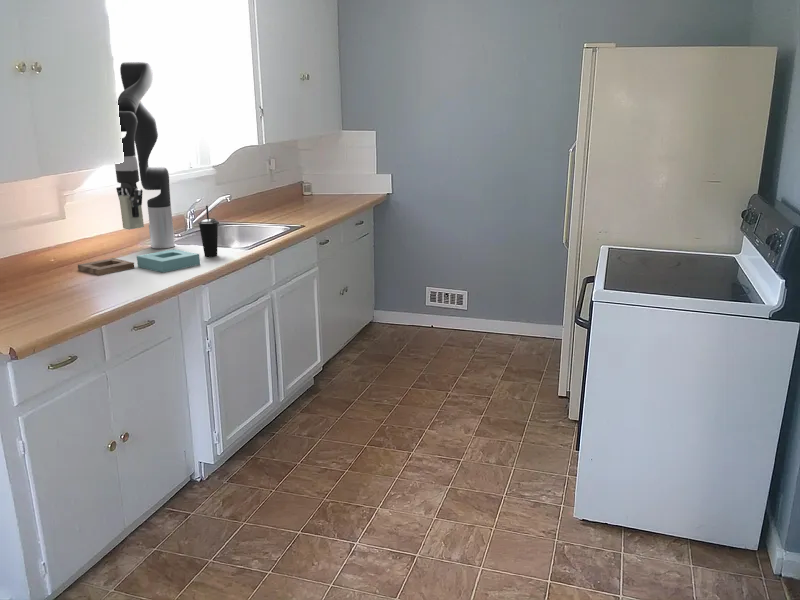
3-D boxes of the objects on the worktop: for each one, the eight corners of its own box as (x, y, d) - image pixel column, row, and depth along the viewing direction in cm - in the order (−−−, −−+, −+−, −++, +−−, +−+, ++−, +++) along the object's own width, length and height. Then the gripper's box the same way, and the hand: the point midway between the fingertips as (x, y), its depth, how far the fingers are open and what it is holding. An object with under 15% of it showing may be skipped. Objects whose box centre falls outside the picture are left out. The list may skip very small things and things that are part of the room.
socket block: (137, 266, 260) (136, 256, 259) (174, 259, 272) (173, 249, 271) (163, 272, 250) (162, 261, 249) (200, 264, 263) (199, 253, 262)
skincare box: (138, 226, 259) (134, 193, 256) (144, 227, 256) (140, 194, 253) (122, 228, 254) (118, 195, 251) (128, 230, 252) (124, 196, 248)
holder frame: (78, 270, 255) (77, 264, 255) (113, 263, 266) (113, 258, 266) (98, 275, 247) (98, 269, 247) (134, 268, 258) (133, 262, 257)
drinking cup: (201, 258, 273) (196, 207, 267) (201, 254, 280) (196, 204, 274) (221, 257, 274) (217, 206, 269) (220, 253, 282) (216, 203, 276)
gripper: (106, 168, 251) (112, 216, 256) (127, 170, 242) (133, 219, 247) (125, 167, 256) (131, 213, 261) (147, 169, 248) (152, 217, 252)
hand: (132, 216), depth 254 cm, fingers closed on skincare box, 4 cm apart
